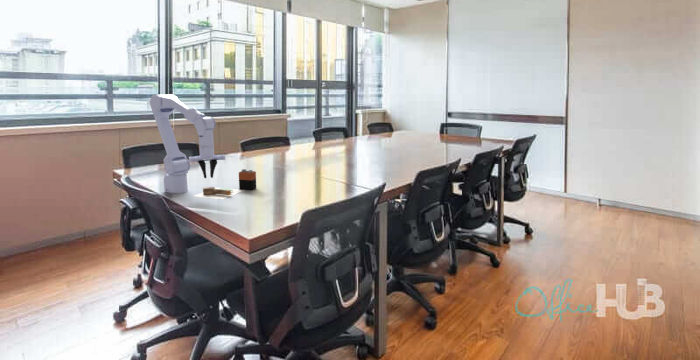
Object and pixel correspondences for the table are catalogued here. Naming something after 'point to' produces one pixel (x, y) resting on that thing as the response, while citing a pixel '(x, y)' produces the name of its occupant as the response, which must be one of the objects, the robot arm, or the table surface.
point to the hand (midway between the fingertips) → (208, 177)
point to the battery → (247, 180)
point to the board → (219, 196)
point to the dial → (215, 191)
